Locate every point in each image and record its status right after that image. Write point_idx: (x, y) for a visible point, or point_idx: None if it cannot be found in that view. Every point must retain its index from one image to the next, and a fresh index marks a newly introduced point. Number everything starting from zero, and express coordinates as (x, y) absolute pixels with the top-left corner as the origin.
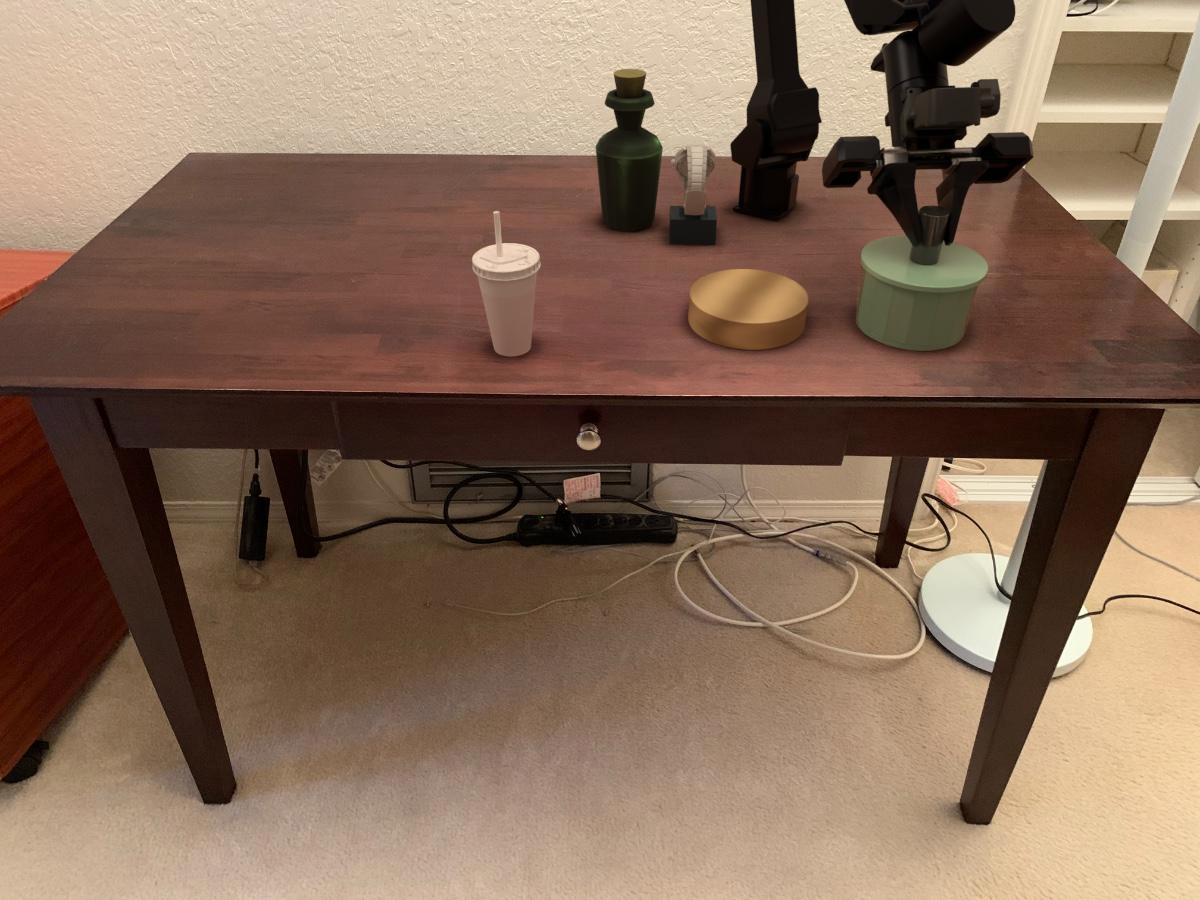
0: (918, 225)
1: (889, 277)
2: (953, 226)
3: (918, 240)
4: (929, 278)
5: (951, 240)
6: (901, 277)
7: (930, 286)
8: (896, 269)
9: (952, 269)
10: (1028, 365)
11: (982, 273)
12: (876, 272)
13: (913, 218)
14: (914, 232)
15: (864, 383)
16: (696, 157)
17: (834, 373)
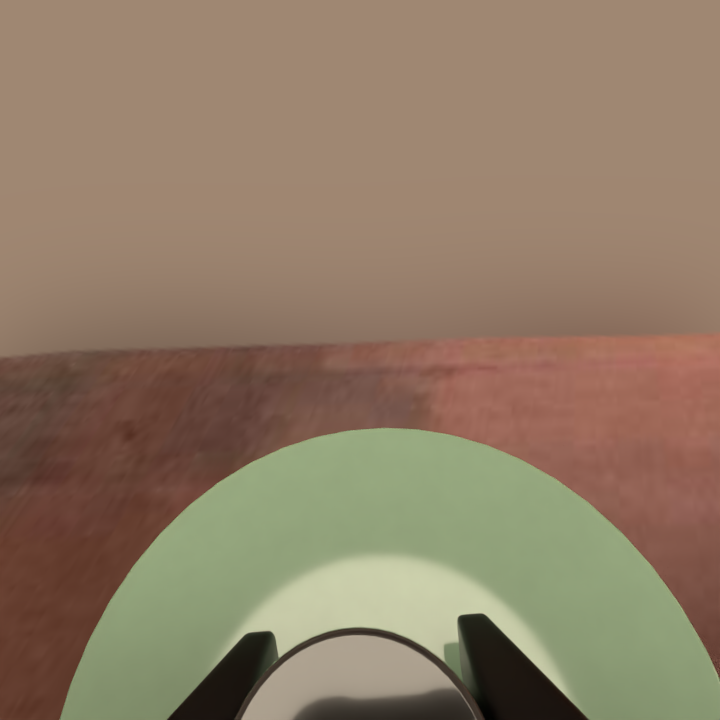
0: (495, 679)
1: (591, 509)
2: (222, 687)
3: (478, 613)
4: (407, 505)
5: (260, 633)
6: (534, 512)
7: (420, 432)
8: (551, 604)
9: (272, 605)
10: (138, 466)
11: (152, 563)
12: (654, 571)
13: (553, 710)
14: (515, 645)
15: (573, 372)
16: None
17: (653, 412)
